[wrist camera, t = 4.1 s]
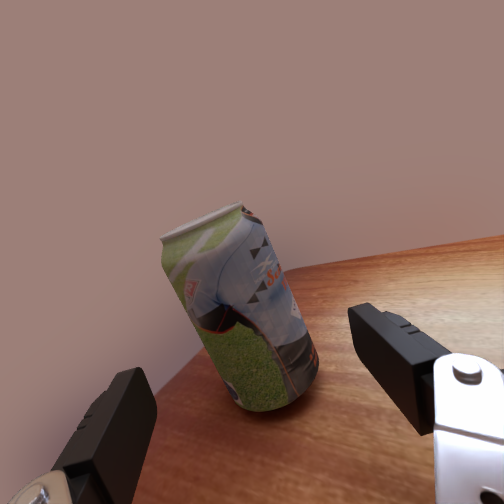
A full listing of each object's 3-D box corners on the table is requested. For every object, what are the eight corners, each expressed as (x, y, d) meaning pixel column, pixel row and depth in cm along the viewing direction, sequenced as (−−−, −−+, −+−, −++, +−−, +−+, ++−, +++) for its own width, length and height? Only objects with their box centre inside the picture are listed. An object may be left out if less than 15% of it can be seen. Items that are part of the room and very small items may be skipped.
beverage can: (342, 401, 15) (298, 189, 13) (215, 451, 14) (136, 233, 12) (300, 343, 21) (264, 191, 19) (209, 376, 20) (156, 220, 18)
